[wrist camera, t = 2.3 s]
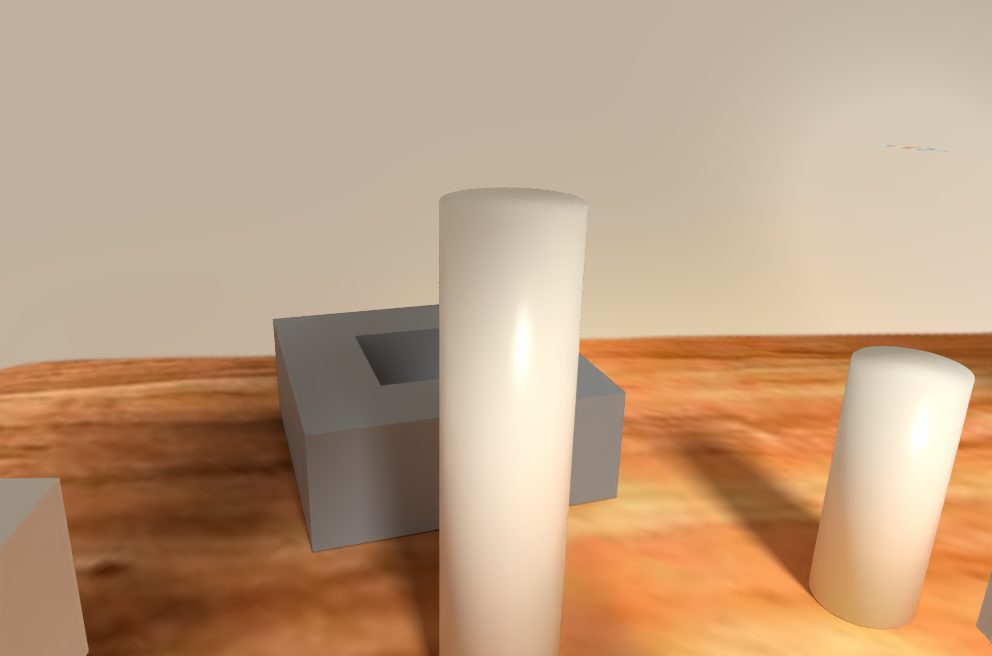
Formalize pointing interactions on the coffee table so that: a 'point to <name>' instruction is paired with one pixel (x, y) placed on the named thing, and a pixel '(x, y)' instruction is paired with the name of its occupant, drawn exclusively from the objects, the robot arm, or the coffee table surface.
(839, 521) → the short pin
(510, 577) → the tall pin
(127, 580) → the coffee table surface
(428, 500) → the hole block
